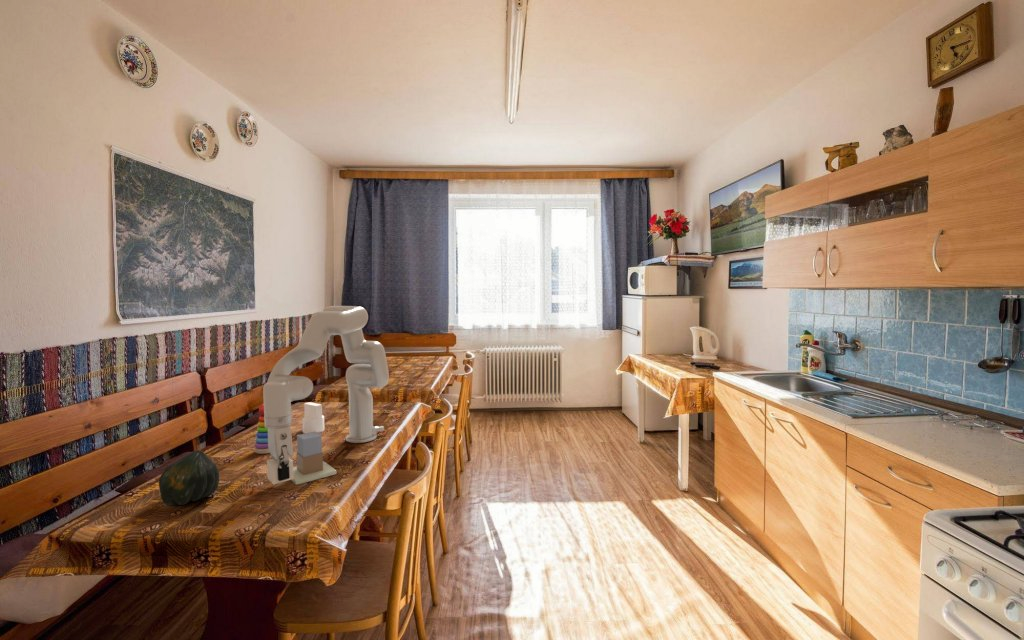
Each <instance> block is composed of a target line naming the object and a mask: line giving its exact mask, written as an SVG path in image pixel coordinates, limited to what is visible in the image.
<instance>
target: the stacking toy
mask: <svg viewBox="0 0 1024 640" xmlns="http://www.w3.org/2000/svg"><path fill="white" fill-rule="evenodd" d="M258 413H259V414H260V416H259V417H258V422H257V432H256V436H257V437H256V438H255V443H254V449H253V451H254V453H256V454H258V455H261V454H262V455H265V454H270V452H269V449H268V428H265V421H264V403H262V404H261V405H260V406H259V407H258Z"/></svg>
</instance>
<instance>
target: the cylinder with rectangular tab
mask: <svg viewBox="0 0 1024 640" xmlns="http://www.w3.org/2000/svg"><path fill="white" fill-rule="evenodd" d="M303 406H304V407H303V408H304V416H303V417H302V418H301V424H302V426H301V427H302V428H301V430H302V434H305V433H310V432H317V433H318V434H320V433H322V432H324V431H325V415H323V405H322V404H320V403H316V402H312V401H310V402H304V405H303Z"/></svg>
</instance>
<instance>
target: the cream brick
mask: <svg viewBox="0 0 1024 640" xmlns="http://www.w3.org/2000/svg"><path fill="white" fill-rule="evenodd" d="M282 457H283V455H282V456H281V457H280V458H282ZM282 461H283V459H282V460H281V462H282ZM266 467H267V468H266V469H267V470H266V471H267V480H268V481H270V483H271V484H272V485H277V484H281V483H284V482H287V481H292V479H294V473H293V467H294V460H293V459H292V458H291V456H289V476H290V478H289V479H285V480H282V481H279V480H278V468H279V466H278V459H276V458H274V459H271V458H270V459H266Z"/></svg>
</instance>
